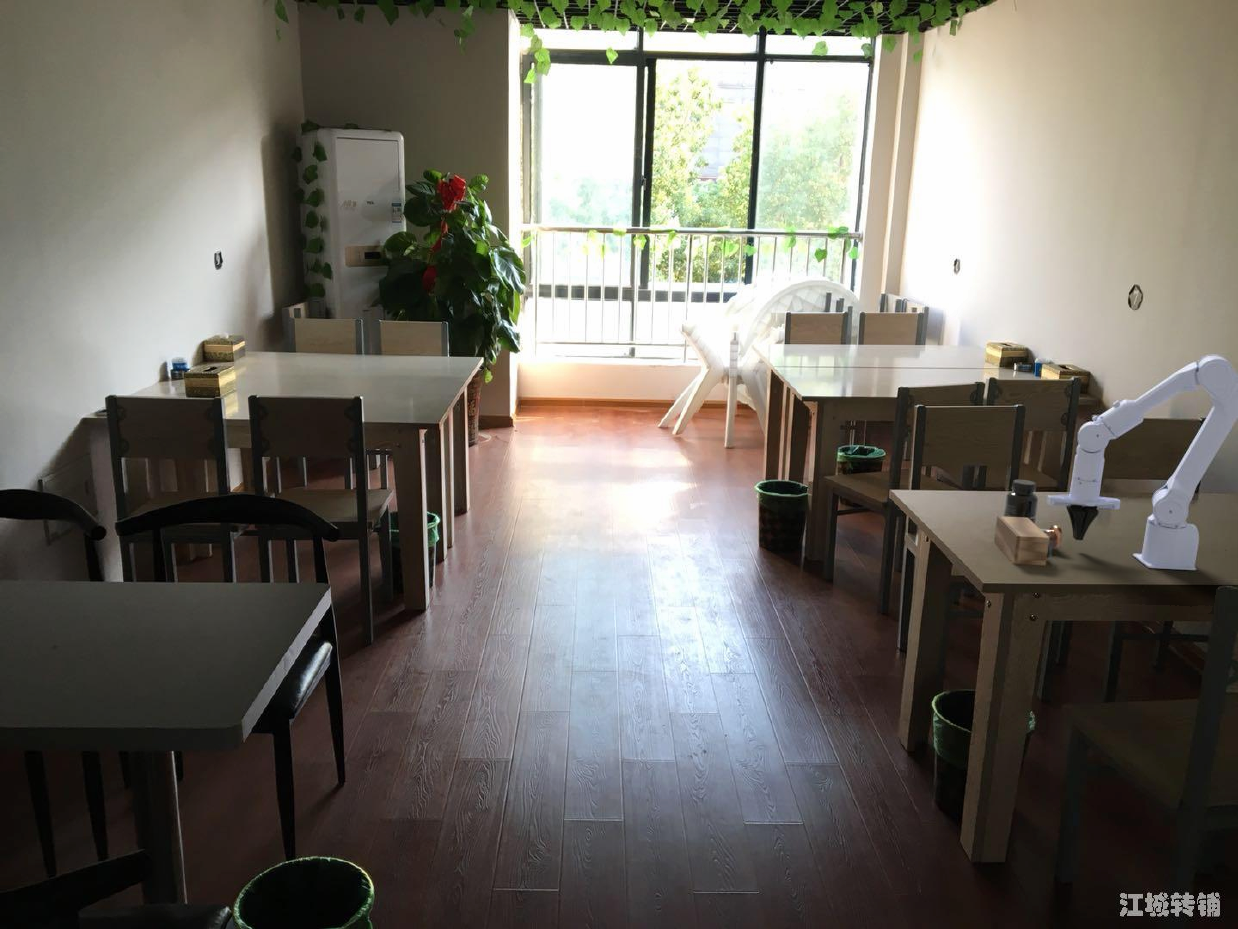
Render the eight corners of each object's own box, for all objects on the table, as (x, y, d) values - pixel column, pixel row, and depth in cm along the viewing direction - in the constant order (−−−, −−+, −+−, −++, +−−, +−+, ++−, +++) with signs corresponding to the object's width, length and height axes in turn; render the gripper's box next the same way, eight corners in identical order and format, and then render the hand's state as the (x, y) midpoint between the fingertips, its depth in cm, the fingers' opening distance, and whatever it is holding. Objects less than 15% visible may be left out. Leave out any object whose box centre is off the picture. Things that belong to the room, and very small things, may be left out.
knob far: (1052, 542, 216) (1055, 522, 215) (1060, 549, 212) (1063, 529, 211) (1021, 541, 217) (1023, 521, 215) (1027, 548, 212) (1030, 527, 211)
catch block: (1024, 543, 217) (1027, 517, 216) (1045, 565, 204) (1049, 537, 202) (994, 542, 218) (997, 516, 216) (1013, 563, 204) (1017, 536, 203)
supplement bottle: (1036, 538, 221) (1043, 487, 218) (1004, 536, 222) (1011, 484, 219) (1030, 529, 228) (1037, 479, 225) (999, 527, 229) (1005, 477, 226)
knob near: (1044, 553, 209) (1047, 533, 208) (1051, 561, 204) (1054, 540, 203) (1011, 552, 209) (1014, 531, 208) (1018, 559, 205) (1020, 538, 204)
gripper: (1058, 481, 206) (1049, 543, 210) (1129, 484, 205) (1120, 546, 209) (1046, 472, 213) (1038, 532, 217) (1116, 476, 212) (1106, 536, 216)
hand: (1077, 538), depth 213 cm, fingers closed
